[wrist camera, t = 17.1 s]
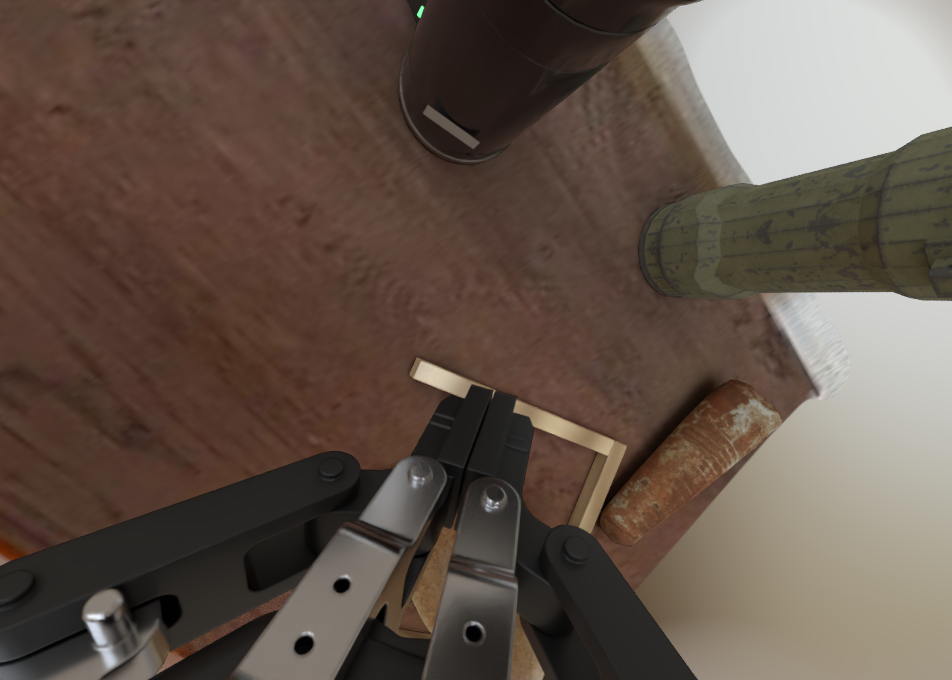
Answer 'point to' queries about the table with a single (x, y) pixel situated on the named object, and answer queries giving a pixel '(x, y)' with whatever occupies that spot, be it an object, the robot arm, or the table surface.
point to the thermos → (814, 231)
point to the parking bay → (546, 421)
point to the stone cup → (427, 597)
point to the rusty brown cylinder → (690, 460)
